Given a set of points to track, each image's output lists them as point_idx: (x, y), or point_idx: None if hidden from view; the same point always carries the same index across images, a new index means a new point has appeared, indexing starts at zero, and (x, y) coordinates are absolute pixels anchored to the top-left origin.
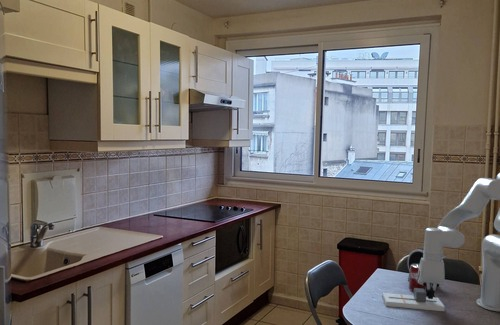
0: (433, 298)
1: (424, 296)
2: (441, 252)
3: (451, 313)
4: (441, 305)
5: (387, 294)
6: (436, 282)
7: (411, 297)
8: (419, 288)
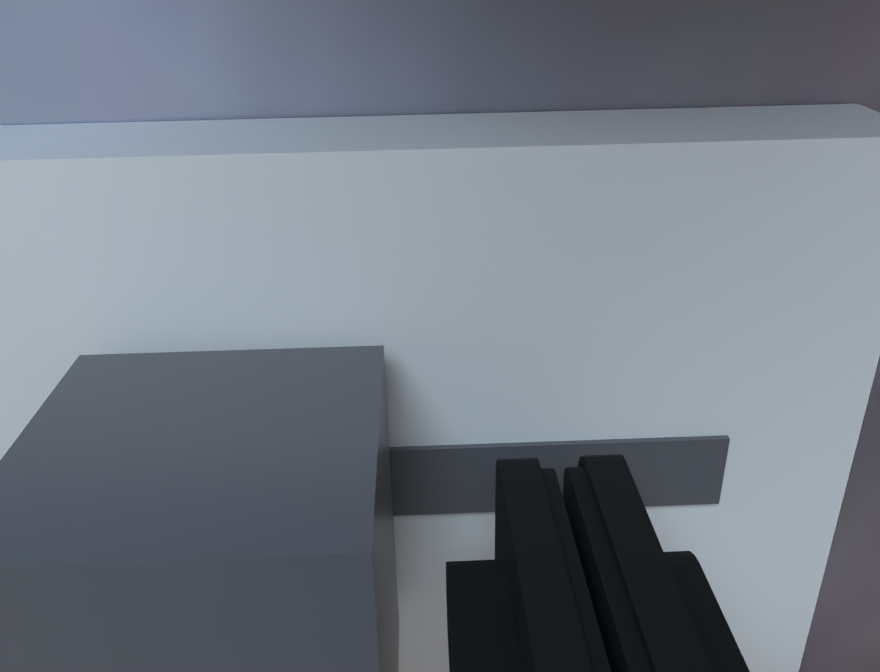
0: (732, 254)
1: None
2: None
3: (850, 653)
4: (747, 649)
5: None
6: None
7: (25, 356)
8: (177, 576)
